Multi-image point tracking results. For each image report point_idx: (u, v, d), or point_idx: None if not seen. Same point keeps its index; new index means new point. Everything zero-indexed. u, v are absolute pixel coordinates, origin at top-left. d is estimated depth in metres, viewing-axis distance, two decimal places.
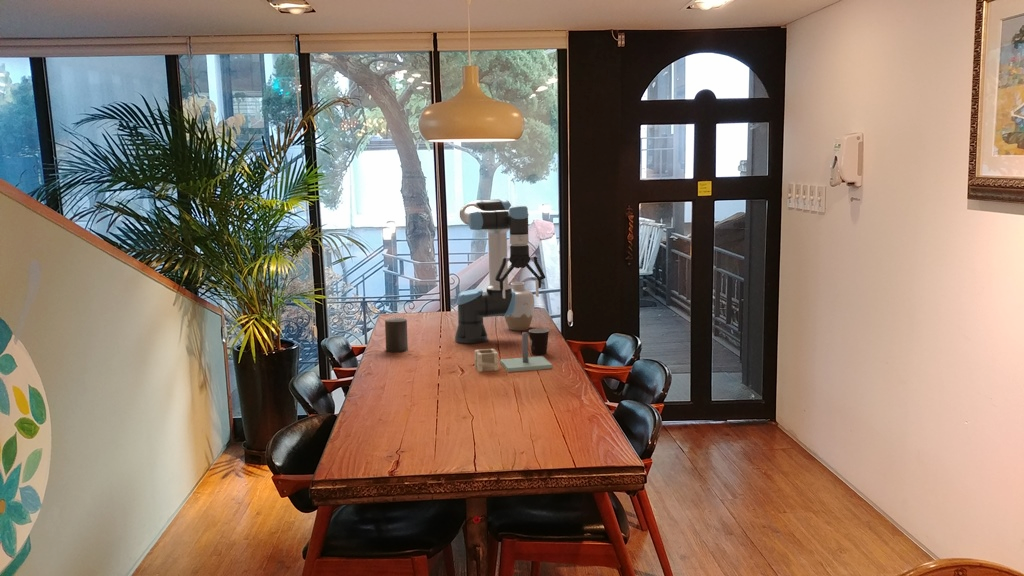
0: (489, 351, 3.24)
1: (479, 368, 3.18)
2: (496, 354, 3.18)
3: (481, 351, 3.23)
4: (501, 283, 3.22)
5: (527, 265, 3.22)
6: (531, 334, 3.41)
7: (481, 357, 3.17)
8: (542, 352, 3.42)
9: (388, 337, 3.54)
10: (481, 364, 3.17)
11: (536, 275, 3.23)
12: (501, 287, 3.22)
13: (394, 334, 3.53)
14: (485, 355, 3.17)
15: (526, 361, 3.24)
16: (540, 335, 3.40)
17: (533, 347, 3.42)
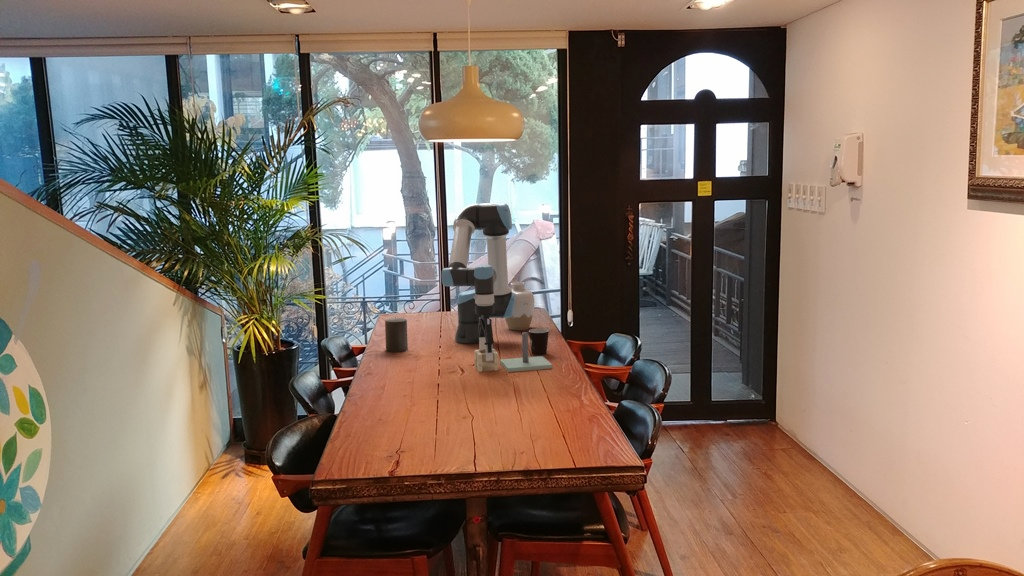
0: None
1: (479, 368, 3.18)
2: (496, 354, 3.18)
3: (481, 351, 3.23)
4: (480, 338, 3.28)
5: (482, 326, 3.16)
6: (531, 334, 3.41)
7: (481, 357, 3.17)
8: (542, 352, 3.42)
9: (388, 337, 3.54)
10: (481, 364, 3.17)
11: (485, 338, 3.14)
12: None
13: (394, 334, 3.53)
14: (485, 355, 3.17)
15: (526, 361, 3.24)
16: (540, 335, 3.40)
17: (533, 347, 3.42)
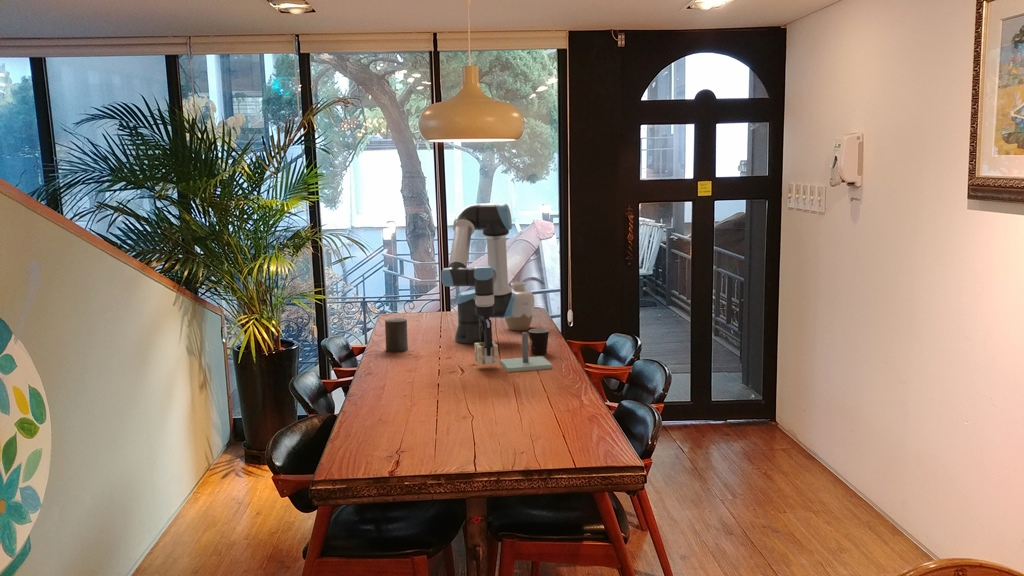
0: None
1: (479, 361, 3.18)
2: (496, 347, 3.18)
3: (481, 344, 3.23)
4: None
5: (482, 327, 3.17)
6: (531, 334, 3.41)
7: (481, 350, 3.17)
8: (542, 352, 3.42)
9: (388, 337, 3.54)
10: (481, 357, 3.17)
11: (485, 341, 3.16)
12: None
13: (394, 334, 3.53)
14: None
15: (526, 361, 3.24)
16: (540, 335, 3.40)
17: (533, 347, 3.42)
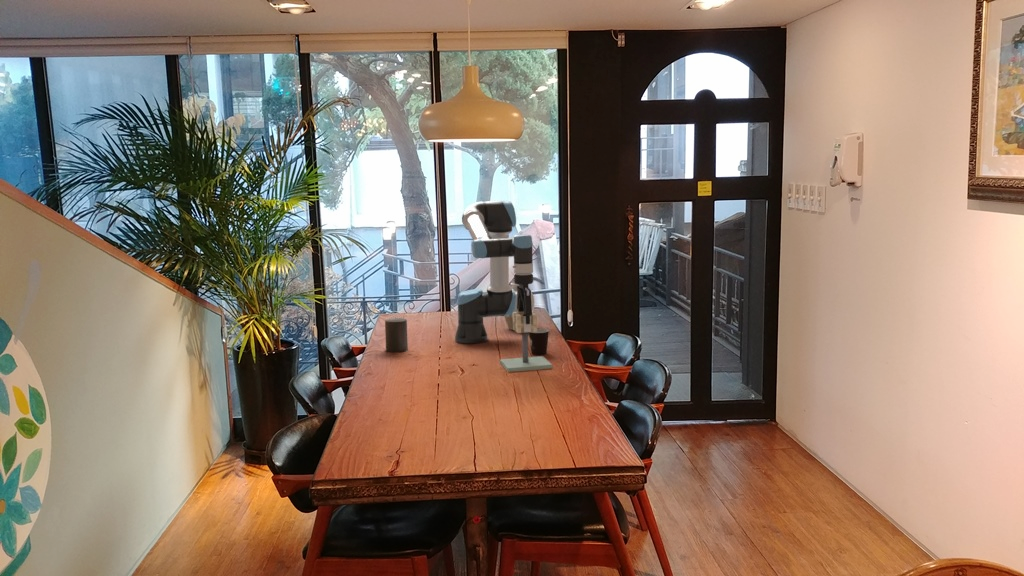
0: None
1: (518, 329, 3.18)
2: (534, 315, 3.19)
3: (519, 313, 3.24)
4: None
5: (521, 296, 3.18)
6: (531, 334, 3.41)
7: (520, 318, 3.18)
8: (542, 352, 3.42)
9: (388, 337, 3.54)
10: (520, 325, 3.18)
11: (524, 309, 3.17)
12: None
13: (394, 334, 3.53)
14: None
15: (526, 361, 3.24)
16: (540, 335, 3.40)
17: (533, 347, 3.42)
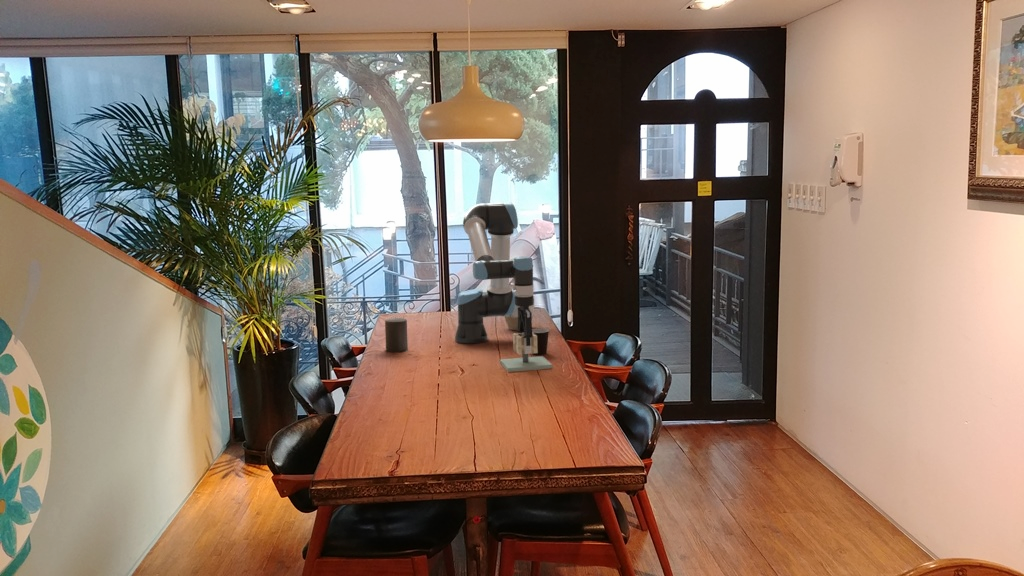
0: None
1: (518, 351, 3.20)
2: (535, 337, 3.20)
3: (520, 334, 3.25)
4: None
5: (521, 318, 3.20)
6: None
7: (520, 340, 3.19)
8: (542, 352, 3.42)
9: (388, 337, 3.54)
10: (520, 347, 3.19)
11: (524, 331, 3.18)
12: None
13: (394, 334, 3.53)
14: None
15: (526, 361, 3.24)
16: (540, 335, 3.40)
17: None
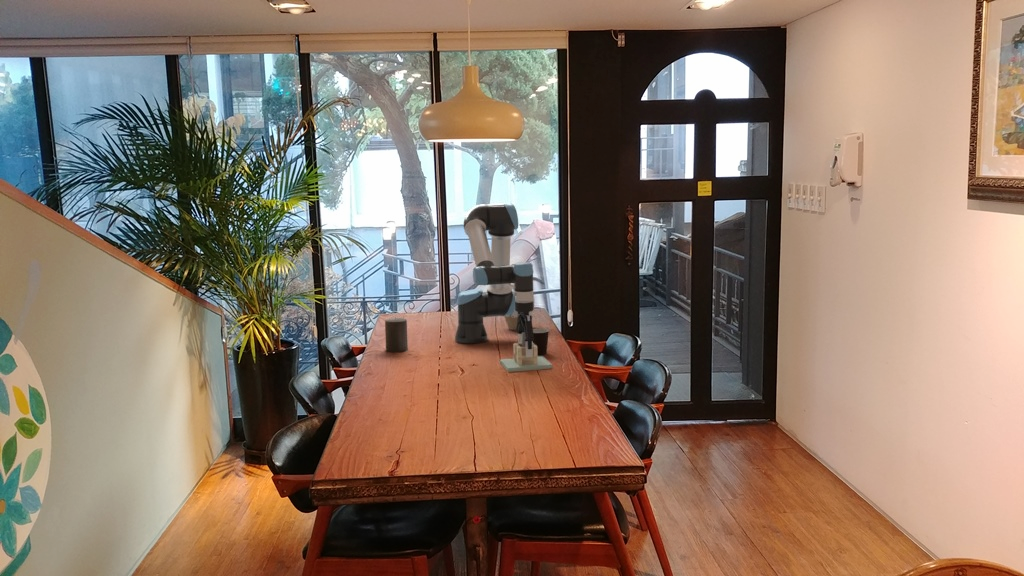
0: None
1: (519, 361, 3.20)
2: (535, 347, 3.21)
3: (520, 345, 3.26)
4: None
5: (522, 323, 3.19)
6: None
7: (521, 350, 3.20)
8: (542, 352, 3.42)
9: (388, 337, 3.54)
10: (521, 357, 3.20)
11: (525, 335, 3.17)
12: None
13: (394, 334, 3.53)
14: (525, 349, 3.20)
15: None
16: (540, 335, 3.40)
17: None
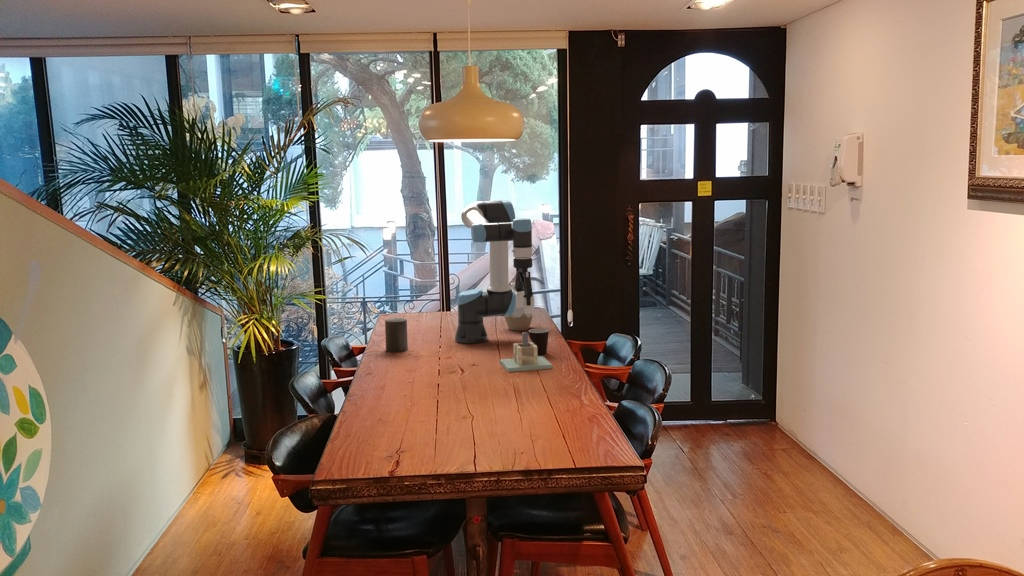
0: (528, 345, 3.27)
1: (519, 361, 3.20)
2: (535, 347, 3.21)
3: (520, 345, 3.26)
4: None
5: (520, 279, 3.17)
6: (531, 334, 3.41)
7: (521, 350, 3.20)
8: (542, 352, 3.42)
9: (388, 337, 3.54)
10: (521, 357, 3.20)
11: (524, 291, 3.14)
12: None
13: (394, 334, 3.53)
14: (525, 349, 3.20)
15: None
16: (540, 335, 3.40)
17: None
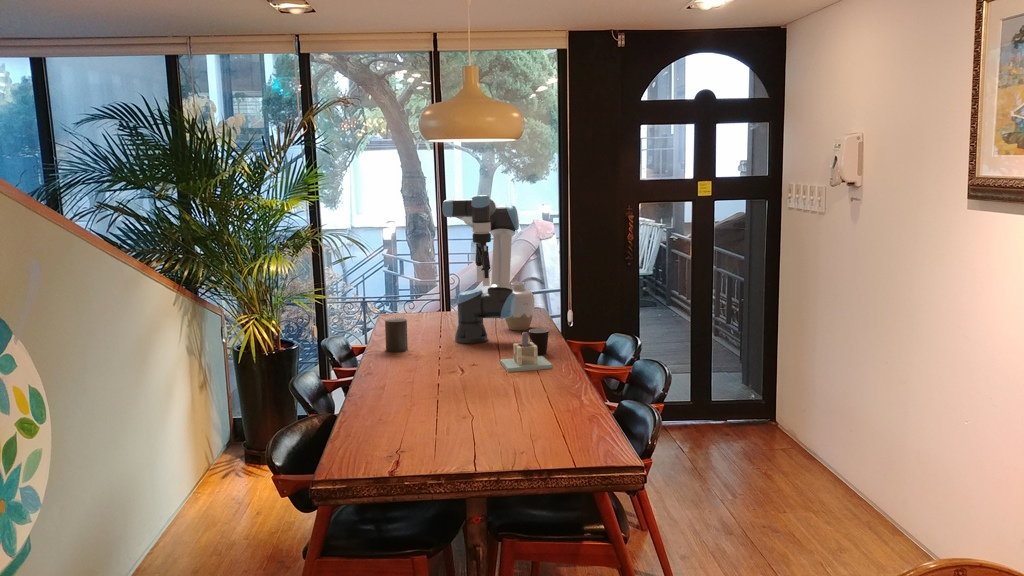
0: (528, 345, 3.27)
1: (519, 361, 3.20)
2: (535, 347, 3.21)
3: (520, 345, 3.26)
4: None
5: (479, 253, 3.30)
6: (531, 334, 3.41)
7: (521, 350, 3.20)
8: (542, 352, 3.42)
9: (388, 337, 3.54)
10: (521, 357, 3.20)
11: (482, 264, 3.28)
12: None
13: (394, 334, 3.53)
14: (525, 349, 3.20)
15: None
16: (540, 335, 3.40)
17: None
